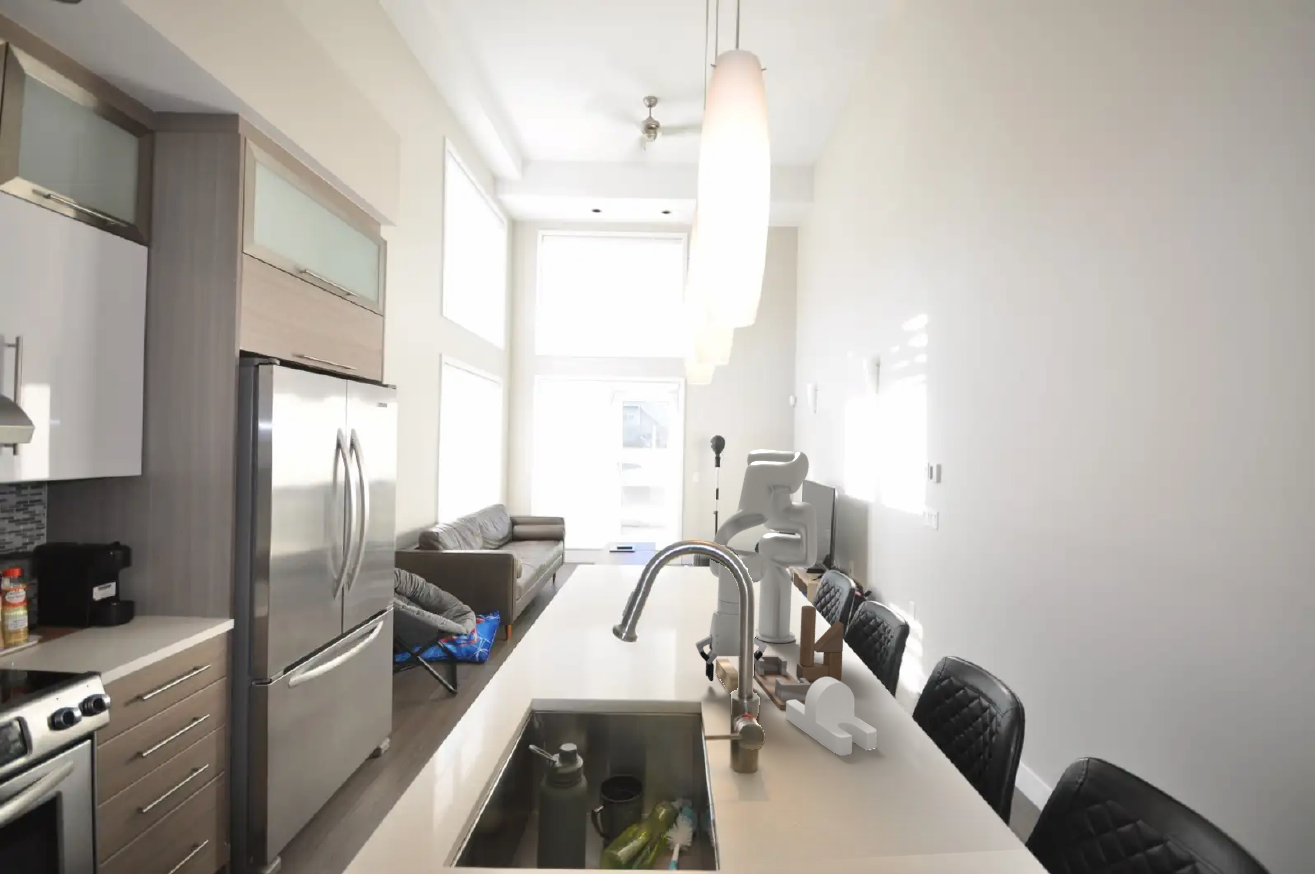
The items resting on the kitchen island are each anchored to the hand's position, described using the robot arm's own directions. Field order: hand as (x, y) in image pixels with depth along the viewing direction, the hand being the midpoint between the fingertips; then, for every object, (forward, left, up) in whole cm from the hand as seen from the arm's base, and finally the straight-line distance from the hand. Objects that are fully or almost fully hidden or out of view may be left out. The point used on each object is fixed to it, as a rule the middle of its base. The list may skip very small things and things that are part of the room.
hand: (729, 679), depth 149 cm
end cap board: (+2, +12, -2) cm, 12 cm away
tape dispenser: (+25, +14, -2) cm, 29 cm away
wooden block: (-4, +24, -2) cm, 24 cm away
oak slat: (0, 0, -2) cm, 2 cm away
